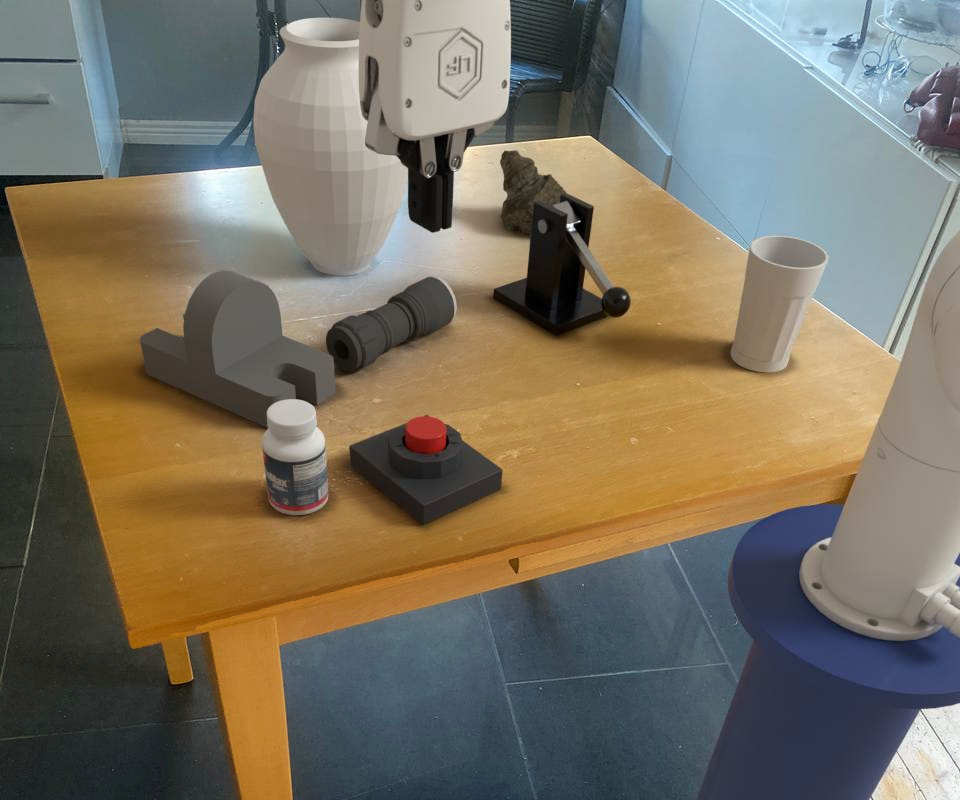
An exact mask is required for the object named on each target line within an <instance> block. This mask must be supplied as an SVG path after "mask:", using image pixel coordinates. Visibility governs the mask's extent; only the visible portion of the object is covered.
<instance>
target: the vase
mask: <svg viewBox="0 0 960 800" xmlns="http://www.w3.org/2000/svg"><path fill="white" fill-rule="evenodd" d="M359 31H360V20H359V21H358V20H354V19H350V18H349V19H348V18H339V17H310V18H302V19H298V20H295V21H292V22H290V23H287V24H286V25H284V26H282V27H281V28H280V29H279V35H280V37H281V39H282V41H283V43H284V46H285V47H284V50H283V51H282V52H281V54H280V55H278V57H277V58H276V60H275V61H274V62H273V64H272V65H271V66H270V67H269V69H268V70H267V71H266V73H264V75H263V77H262V78H261V80H260V82H259V86H258V89H257V92H256V95H255V99H254V105H253V106H254V107H253V137H254V146H255V149H256V152H257V155H258V158H259V161H260V164H261V167H262V171H263V175H264V177H265V180H266V184H267V187H268V191H269V193H270V196H271V199H272V201H273V203H274V205H275V207H276V209H277V211H278V213H279V215H280V217H281V220H282V221H283V223H284V224H285V226H286V228H287V230H288V231H289V233H290V235H291V237H292V239H293V241H294V242H295V244H296V245H297V247H298V249H299V250H300V251H301V253H302V254H303V255H304V257H305V258H306V259H307V260H309V262H310V263H311V265H312V267H313V268H314V269H315V270H316V271H317V272H319V273H322V274H325V275H329V276H337V277H348V276H354V275H358V274H361V273H364V272H365V271H367V270H368V269H369V268H370V266H371V263H372V262H373V261H374V259H375V258H376V257H377V255H378V254H379V253H380V251H381V249H382V248H383V246H384V244H385V243H386V241H387V238H388V237H389V234H390V232H391V230H392V228H393V226H394V223H395V221H396V218H397V216H398V213H399V211H400V209H401V206H402V203H403V200H404V197H405V192H406V188H407V184H408V168H407V167H405V166H403V165H402V164H401V162H400V159H399V158H398V157H397V156H394V155H383V154H378V153H376V152H374V151H372V150H370V149H368V148H367V147H366V146H365V136H366V130H367V124H368V121H367V120H365V119H364V117H363V115H362V112H361V106H360V97H359ZM392 132H393V131H392Z"/></svg>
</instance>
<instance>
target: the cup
mask: <svg viewBox="0 0 960 800" xmlns="http://www.w3.org/2000/svg"><path fill="white" fill-rule="evenodd" d="M746 261H747V262H746V268H745V274H744V282H743V288H742V293H741V298H740V305H739V310H738V316H737V320H736V326H735V332H734V338H733V341H732V345H731V349H730V358H731V359H732V361H733V362H735V363H736V364H737V365H738V366H740V367H742V368H744V369H747V370H750V371H752V372H753V371H754V372H758V373H777V372H781V371H783V370H784V369H786V368H787V366H788V363H789V360H790V358H791V354H792V351H793V347H794V345H795V343H796V341H797V338H798V335H799V332H800V330H801V328H802V325H803V323H804V320H805V317H806V315H807V312H808V310H809V307H810V305H811V302H812V300H813V297H814V294H815V291H817V288H818V286H819V284H820V281H821V279H822V277H823V274H824V272H825V269H826V266H827V265H828V262H829V254H828V253H827V252H826V251H825V250H824V248H822V247H820V246H819V245H818V244H815V243H814V242H811V241H809V240H805V239H803V238H799V237H794V236H788V235H787V236H786V235H765V236H760V237H758V238H755V239H754V240H752V241H751V243H750V244H749V250H748V256H747V260H746Z"/></svg>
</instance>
